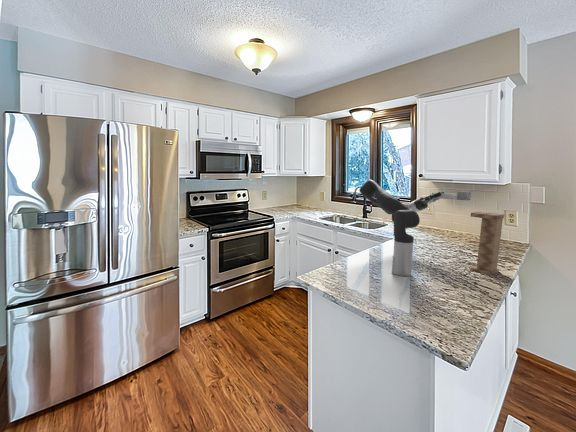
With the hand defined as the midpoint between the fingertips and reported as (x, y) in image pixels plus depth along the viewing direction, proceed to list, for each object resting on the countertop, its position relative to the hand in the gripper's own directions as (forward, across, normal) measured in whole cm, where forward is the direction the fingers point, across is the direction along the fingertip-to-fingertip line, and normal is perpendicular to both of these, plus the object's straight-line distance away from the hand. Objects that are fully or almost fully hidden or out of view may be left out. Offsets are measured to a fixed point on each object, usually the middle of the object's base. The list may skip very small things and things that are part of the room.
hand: (442, 193), depth 174 cm
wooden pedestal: (+1, 0, -47) cm, 47 cm away
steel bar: (+2, 0, -5) cm, 5 cm away
